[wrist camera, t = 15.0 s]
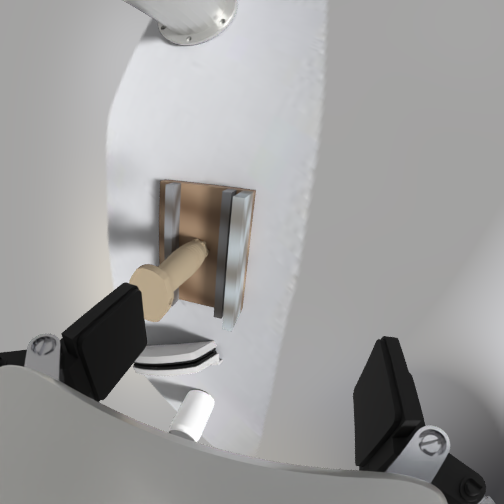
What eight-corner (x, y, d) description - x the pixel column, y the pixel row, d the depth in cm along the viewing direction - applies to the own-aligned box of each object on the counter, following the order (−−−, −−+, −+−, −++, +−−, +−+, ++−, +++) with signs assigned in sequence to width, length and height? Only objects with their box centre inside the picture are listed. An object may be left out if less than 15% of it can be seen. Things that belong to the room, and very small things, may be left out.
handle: (181, 261, 43) (127, 310, 30) (189, 223, 41) (131, 261, 27) (209, 272, 43) (164, 328, 29) (219, 233, 41) (171, 279, 27)
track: (165, 179, 41) (141, 185, 35) (255, 190, 39) (244, 198, 33) (164, 290, 48) (146, 308, 42) (242, 308, 46) (231, 331, 40)
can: (184, 397, 58) (163, 435, 47) (193, 384, 55) (171, 425, 44) (208, 410, 58) (191, 450, 47) (219, 398, 55) (201, 441, 44)
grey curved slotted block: (155, 364, 56) (126, 380, 46) (150, 343, 56) (119, 357, 47) (224, 361, 51) (200, 382, 41) (219, 338, 51) (193, 355, 42)
